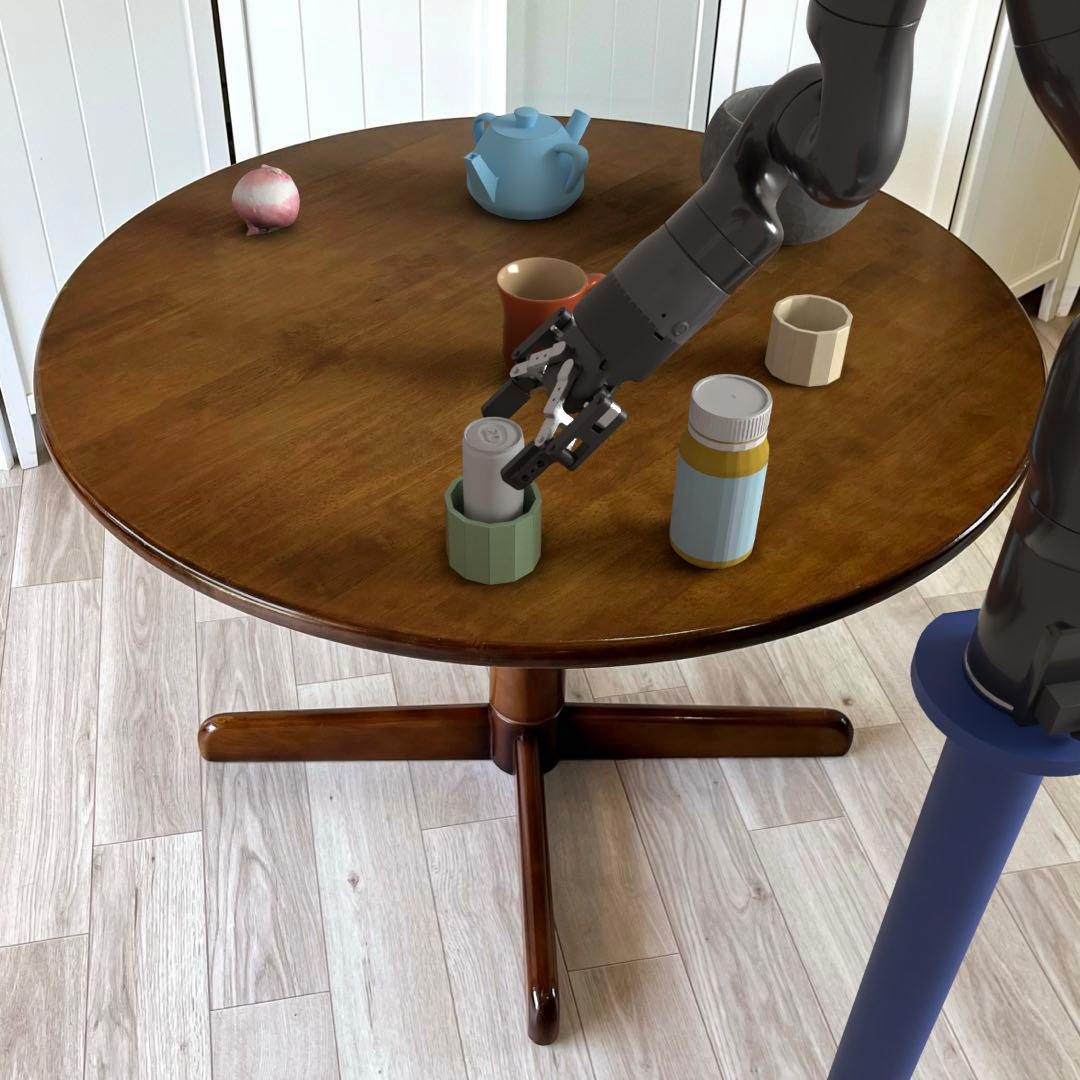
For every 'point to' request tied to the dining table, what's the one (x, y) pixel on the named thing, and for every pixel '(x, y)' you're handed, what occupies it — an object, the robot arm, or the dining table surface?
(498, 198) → the teapot
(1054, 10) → the robot arm
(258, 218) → the onion
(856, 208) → the bowl
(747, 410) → the bottle
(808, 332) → the holder
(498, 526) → the holder
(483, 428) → the beverage can
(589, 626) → the dining table surface
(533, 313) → the mug
